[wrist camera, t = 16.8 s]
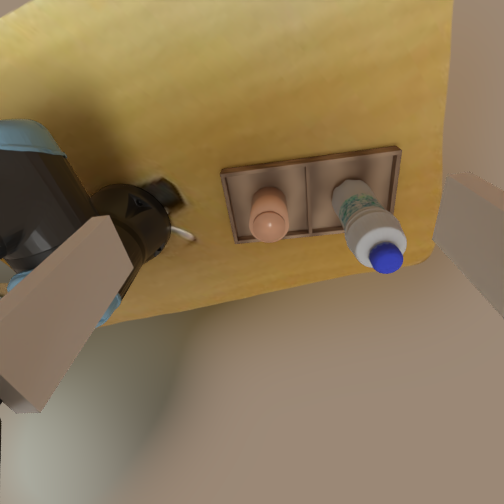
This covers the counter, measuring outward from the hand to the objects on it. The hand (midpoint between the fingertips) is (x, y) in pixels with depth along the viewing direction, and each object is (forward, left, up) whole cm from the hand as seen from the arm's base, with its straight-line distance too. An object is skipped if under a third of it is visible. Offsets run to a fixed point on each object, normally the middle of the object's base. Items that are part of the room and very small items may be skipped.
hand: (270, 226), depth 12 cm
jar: (-2, -15, -36) cm, 39 cm away
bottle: (+12, -15, -36) cm, 41 cm away
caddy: (+5, -15, -37) cm, 40 cm away
